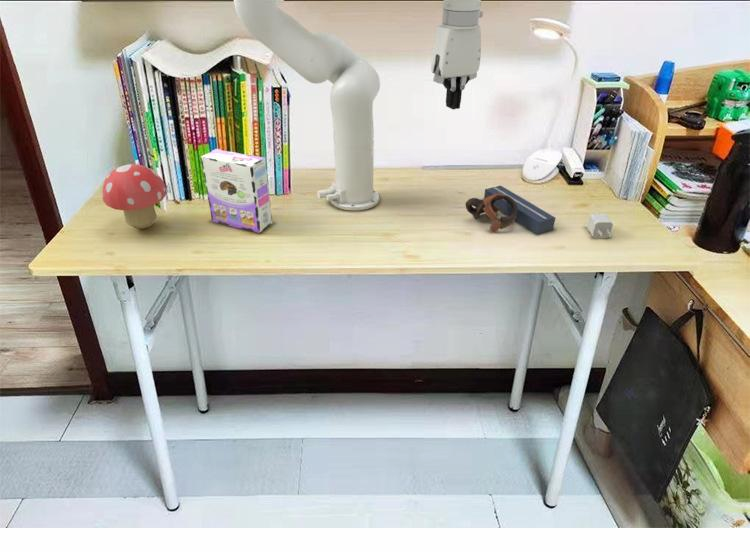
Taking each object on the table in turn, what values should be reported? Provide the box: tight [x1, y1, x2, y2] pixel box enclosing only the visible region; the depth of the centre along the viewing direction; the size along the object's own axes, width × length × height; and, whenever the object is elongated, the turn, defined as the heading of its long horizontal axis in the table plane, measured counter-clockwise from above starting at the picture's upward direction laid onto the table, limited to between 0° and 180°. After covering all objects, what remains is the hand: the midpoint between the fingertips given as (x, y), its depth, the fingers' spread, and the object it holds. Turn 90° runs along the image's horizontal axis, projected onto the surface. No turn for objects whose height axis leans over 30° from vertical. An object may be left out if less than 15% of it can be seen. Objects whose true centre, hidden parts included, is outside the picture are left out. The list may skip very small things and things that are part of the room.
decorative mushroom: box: [101, 163, 168, 230], centre depth 125 cm, size 13×13×15 cm
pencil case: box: [483, 185, 556, 235], centre depth 136 cm, size 5×20×3 cm, turn 28°
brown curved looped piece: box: [465, 194, 517, 233], centre depth 131 cm, size 12×10×8 cm
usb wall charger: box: [586, 212, 614, 239], centre depth 127 cm, size 4×7×4 cm, turn 179°
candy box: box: [200, 148, 273, 234], centre depth 127 cm, size 14×6×16 cm, turn 65°
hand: (452, 107), depth 125 cm, fingers closed
